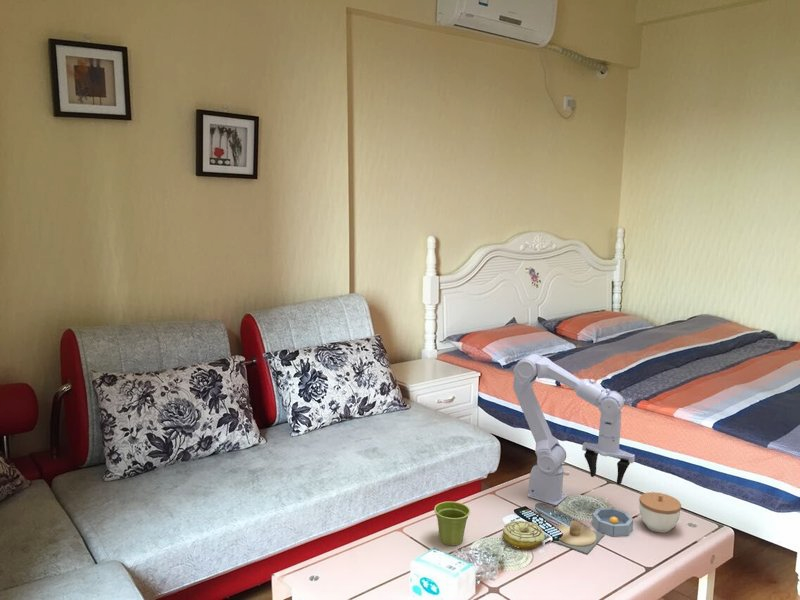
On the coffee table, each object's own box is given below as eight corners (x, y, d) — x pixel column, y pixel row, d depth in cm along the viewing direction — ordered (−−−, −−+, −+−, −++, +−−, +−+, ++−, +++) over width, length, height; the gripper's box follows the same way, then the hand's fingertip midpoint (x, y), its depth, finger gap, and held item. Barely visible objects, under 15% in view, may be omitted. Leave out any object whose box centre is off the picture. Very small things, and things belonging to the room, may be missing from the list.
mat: (543, 538, 174) (543, 537, 174) (562, 521, 183) (562, 519, 183) (587, 554, 167) (587, 553, 167) (604, 535, 176) (604, 534, 176)
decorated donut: (552, 546, 171) (552, 533, 170) (517, 555, 166) (518, 541, 166) (528, 527, 180) (529, 514, 179) (495, 535, 176) (496, 522, 175)
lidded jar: (671, 518, 186) (674, 487, 184) (684, 538, 175) (687, 506, 174) (633, 516, 187) (635, 485, 185) (643, 535, 176) (645, 503, 175)
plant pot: (443, 527, 179) (444, 497, 178) (474, 536, 174) (475, 506, 173) (427, 543, 171) (428, 512, 170) (459, 553, 166) (461, 522, 165)
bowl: (587, 527, 180) (588, 517, 179) (601, 514, 188) (601, 503, 187) (623, 540, 174) (624, 529, 173) (636, 525, 182) (637, 514, 181)
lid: (546, 536, 175) (547, 523, 174) (565, 520, 183) (566, 508, 182) (584, 551, 167) (585, 538, 167) (602, 534, 176) (603, 522, 175)
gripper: (579, 432, 186) (576, 477, 189) (630, 445, 178) (626, 491, 180) (588, 425, 192) (585, 469, 194) (638, 437, 183) (634, 482, 186)
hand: (606, 479), depth 188 cm, fingers open, 7 cm apart
